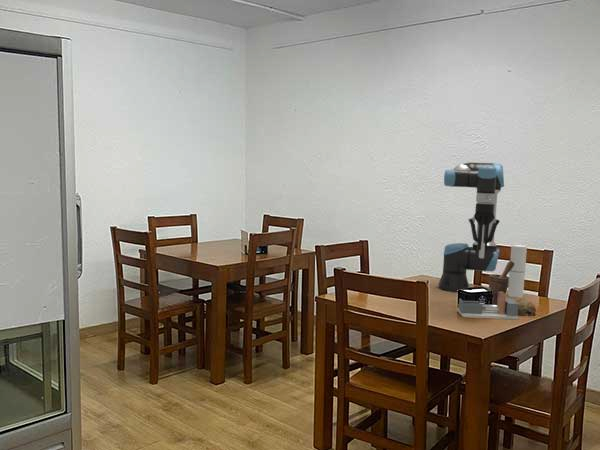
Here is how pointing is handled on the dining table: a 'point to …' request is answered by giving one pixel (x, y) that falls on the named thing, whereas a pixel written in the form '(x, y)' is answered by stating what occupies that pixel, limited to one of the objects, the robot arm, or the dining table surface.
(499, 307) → the slip tube
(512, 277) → the cylindrical container
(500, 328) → the dining table surface
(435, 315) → the dining table surface
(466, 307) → the guide base
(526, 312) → the bread roll
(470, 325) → the dining table surface
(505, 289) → the mortar and pestle
